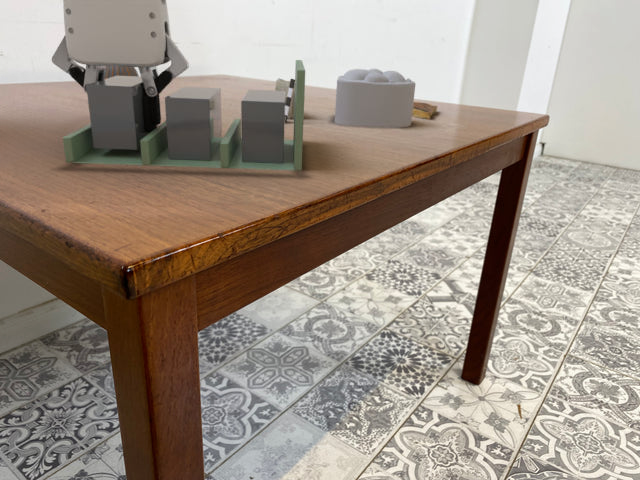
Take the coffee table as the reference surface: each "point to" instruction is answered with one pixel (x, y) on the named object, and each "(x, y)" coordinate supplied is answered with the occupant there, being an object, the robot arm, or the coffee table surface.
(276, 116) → the clay tablet
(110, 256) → the coffee table surface
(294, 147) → the book rack
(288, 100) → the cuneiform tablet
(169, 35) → the robot arm
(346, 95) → the lumpy-topped squat cylinder
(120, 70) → the vase
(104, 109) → the gray rectangular block
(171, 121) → the clay tablet
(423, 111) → the brown yellow flat block
